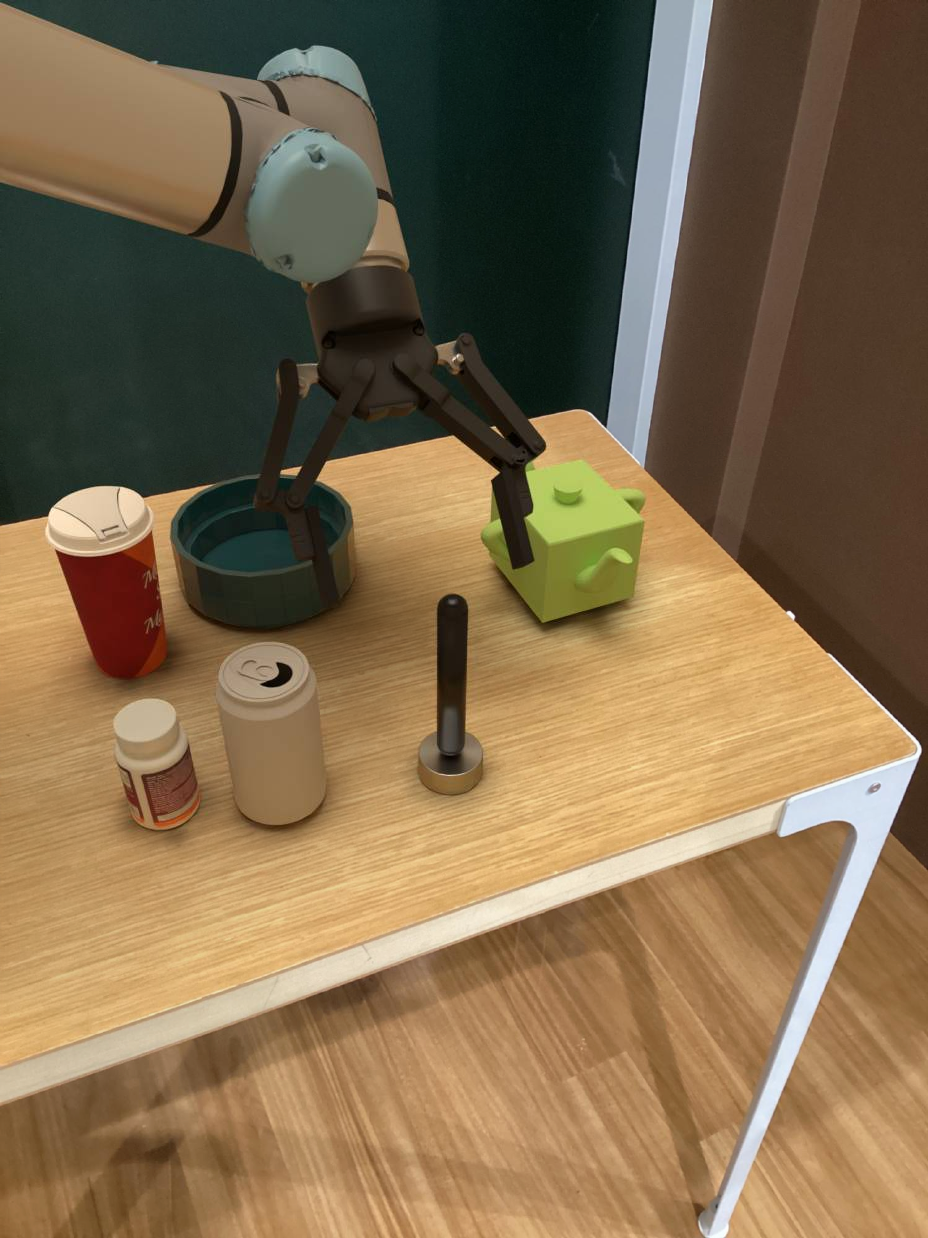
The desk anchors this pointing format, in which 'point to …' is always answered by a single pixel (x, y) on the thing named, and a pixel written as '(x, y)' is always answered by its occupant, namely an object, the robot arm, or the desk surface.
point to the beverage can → (272, 732)
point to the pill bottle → (155, 764)
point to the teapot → (573, 541)
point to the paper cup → (112, 576)
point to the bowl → (256, 554)
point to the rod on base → (451, 708)
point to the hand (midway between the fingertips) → (430, 586)
